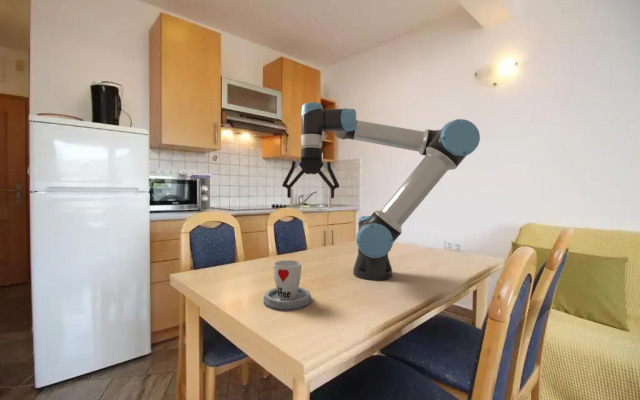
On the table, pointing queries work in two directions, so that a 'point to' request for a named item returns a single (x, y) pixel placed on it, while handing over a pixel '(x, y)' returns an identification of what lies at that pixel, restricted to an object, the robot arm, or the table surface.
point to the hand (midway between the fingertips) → (310, 207)
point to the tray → (285, 305)
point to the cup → (287, 278)
